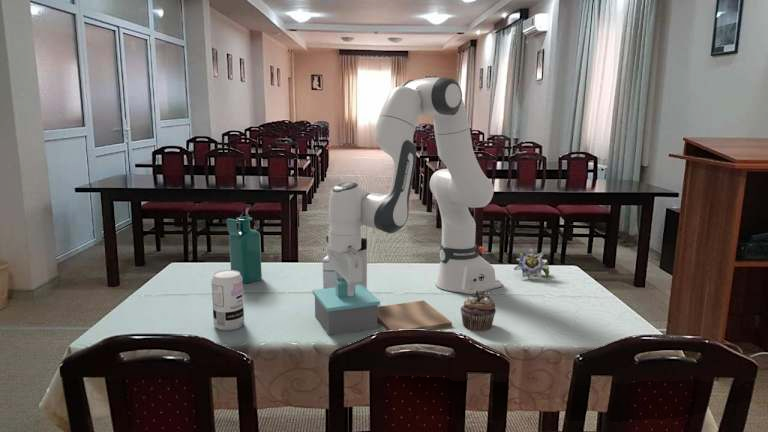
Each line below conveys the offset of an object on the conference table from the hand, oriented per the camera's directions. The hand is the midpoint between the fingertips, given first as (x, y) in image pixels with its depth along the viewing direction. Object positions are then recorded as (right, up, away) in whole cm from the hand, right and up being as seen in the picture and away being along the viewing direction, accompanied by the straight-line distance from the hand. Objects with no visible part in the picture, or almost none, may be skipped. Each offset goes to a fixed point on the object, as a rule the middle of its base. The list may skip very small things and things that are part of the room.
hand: (345, 289), depth 161 cm
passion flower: (+63, -1, +45) cm, 78 cm away
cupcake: (+37, -10, +1) cm, 39 cm away
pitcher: (-37, -2, +37) cm, 52 cm away
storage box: (0, -9, +2) cm, 10 cm away
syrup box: (-4, -6, +18) cm, 20 cm away
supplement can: (-32, -10, -1) cm, 34 cm away
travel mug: (+2, -6, +20) cm, 21 cm away
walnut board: (+18, -9, +5) cm, 21 cm away
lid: (0, -4, +1) cm, 4 cm away
